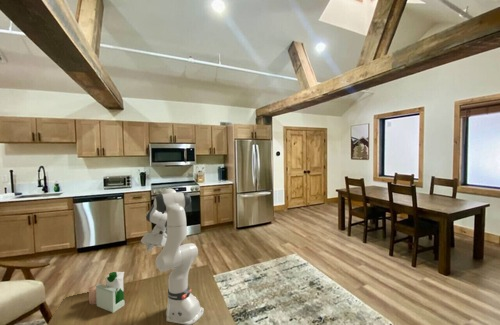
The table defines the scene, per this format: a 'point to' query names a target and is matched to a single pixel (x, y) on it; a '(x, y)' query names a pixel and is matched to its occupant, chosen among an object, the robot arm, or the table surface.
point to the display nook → (107, 298)
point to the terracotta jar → (92, 295)
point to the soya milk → (116, 284)
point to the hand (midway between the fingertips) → (147, 250)
